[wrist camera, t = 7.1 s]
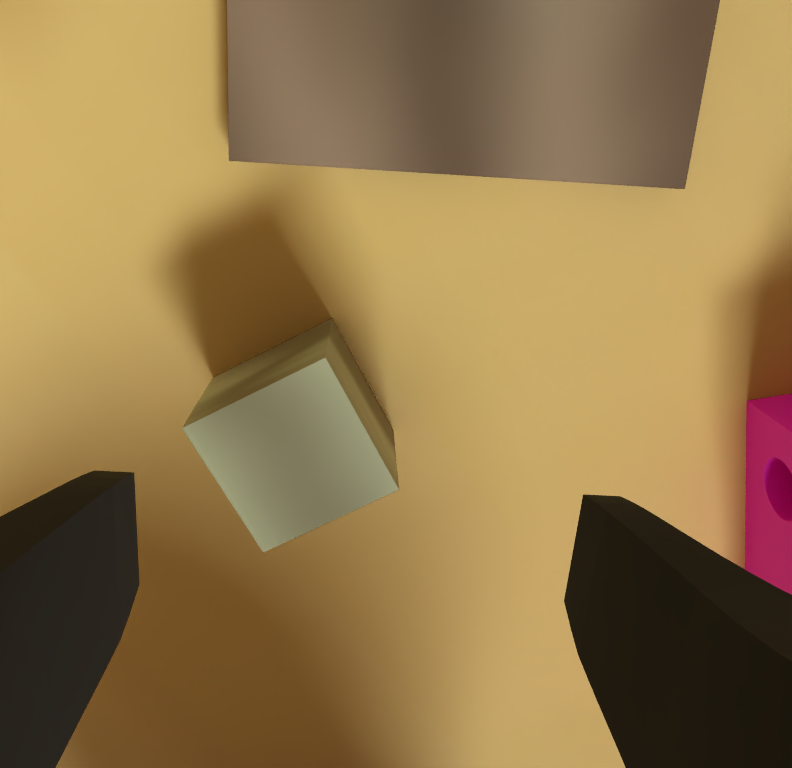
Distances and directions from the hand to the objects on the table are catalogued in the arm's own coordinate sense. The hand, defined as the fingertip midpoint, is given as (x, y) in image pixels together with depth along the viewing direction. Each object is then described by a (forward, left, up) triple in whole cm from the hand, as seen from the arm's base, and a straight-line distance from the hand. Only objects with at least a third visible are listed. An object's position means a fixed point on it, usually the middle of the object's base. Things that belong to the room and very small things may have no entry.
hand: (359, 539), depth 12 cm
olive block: (+2, +2, -11) cm, 11 cm away
